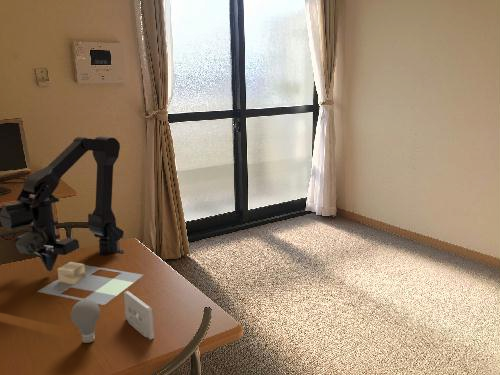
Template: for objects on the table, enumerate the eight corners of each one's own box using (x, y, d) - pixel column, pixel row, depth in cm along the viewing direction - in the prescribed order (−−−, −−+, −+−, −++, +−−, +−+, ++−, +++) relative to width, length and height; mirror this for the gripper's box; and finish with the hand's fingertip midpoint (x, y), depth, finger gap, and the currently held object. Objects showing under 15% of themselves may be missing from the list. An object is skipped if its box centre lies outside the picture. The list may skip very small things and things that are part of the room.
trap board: (83, 269, 130) (82, 264, 130) (144, 279, 123) (143, 274, 123) (37, 296, 114) (36, 291, 114) (104, 310, 107) (104, 305, 107)
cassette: (156, 338, 96) (154, 307, 94) (149, 341, 94) (146, 310, 92) (131, 317, 104) (128, 289, 102) (124, 320, 103) (121, 291, 101)
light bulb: (107, 333, 97) (103, 294, 94) (95, 350, 91) (90, 308, 89) (82, 332, 98) (77, 293, 95) (69, 348, 92) (63, 307, 89)
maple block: (71, 274, 124) (70, 261, 123) (85, 276, 122) (84, 264, 121) (59, 281, 119) (57, 268, 118) (73, 284, 117) (71, 271, 116)
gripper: (-7, 225, 115) (2, 277, 118) (47, 233, 109) (54, 287, 112) (26, 213, 125) (33, 262, 129) (77, 219, 119) (83, 270, 123)
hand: (50, 270), depth 123 cm, fingers closed
